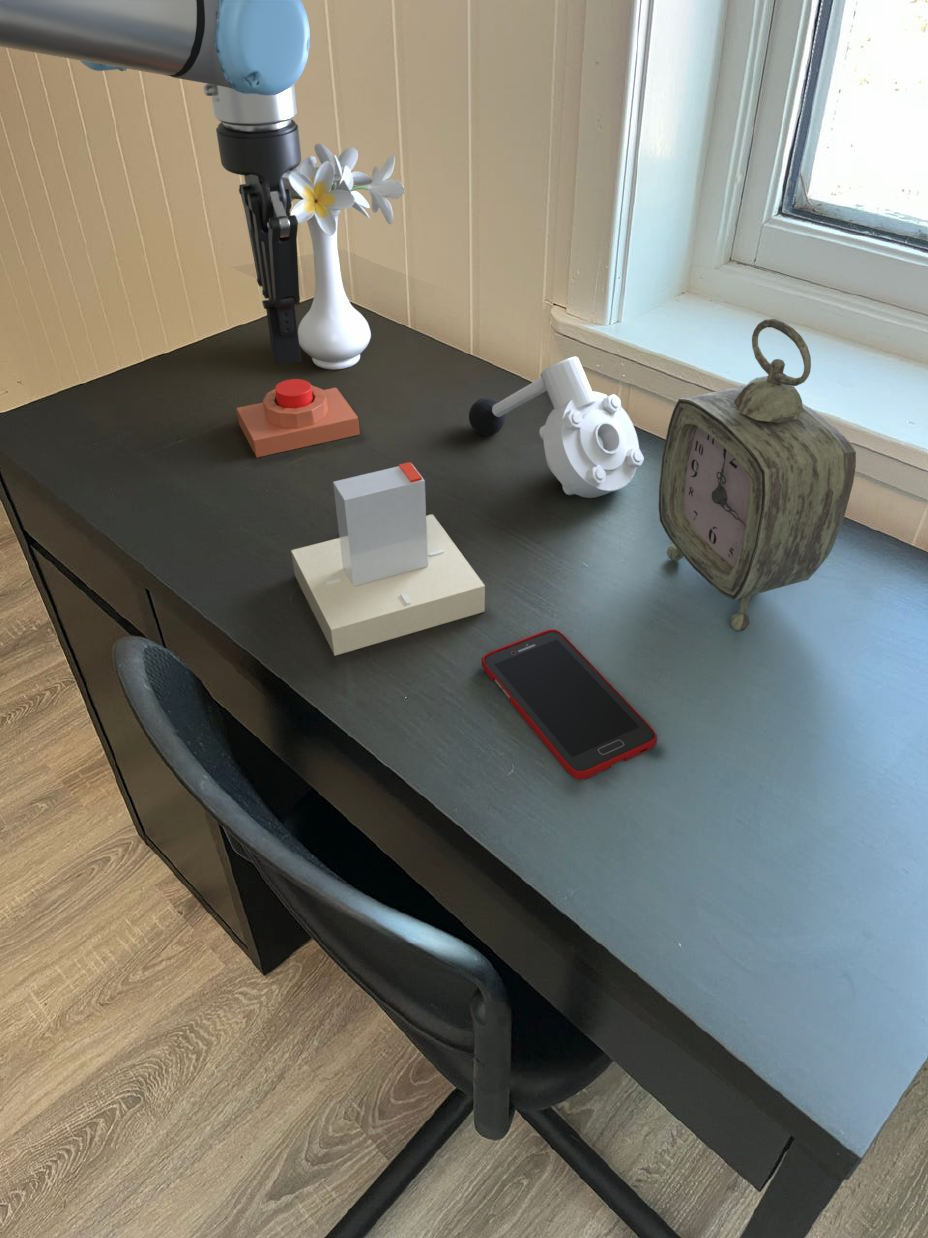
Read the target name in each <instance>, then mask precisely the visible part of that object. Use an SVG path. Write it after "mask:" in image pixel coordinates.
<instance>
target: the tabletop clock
mask: <svg viewBox="0 0 928 1238" xmlns="http://www.w3.org/2000/svg"><path fill="white" fill-rule="evenodd" d="M766 328H772V329H774V330H777V331H779V332H780V333H782V334H783V335H785V336H787V337H788V338H789V339H790V340H791V341H792V342H793V343H794V345H795V346H796V347H797V349H798V350H799V353H800V355H801V358H802V361H803V373H802V375H801V376H799V377H793V376H789V375H787V374H786V373H784V370H785V367H786V363H785V361H784V360H783V359H781V358H775V359H773V360H772V361H771V362H769V360H768V359H767V358H766V357H765V355H764V354H763V352H762V350H761V348H760V346H759V336H760V333H761V332H762V331H763V330H765V329H766ZM751 344H752V345H751V348H752V351H753V354H754V358H755V360H756V361H757V364H758V365H759V366H760V367H761V368H762V370H763V371H764V372H765V373H766V375H764V376H759V377H755V378H753V379H752V380H750V381H749V382H748V383H747V384H746V385H740V386H736V387H731V388H726V389H720V390H717V391H716V390H715V391H711V392H705V393H702V394H696V395H692V396H687V397H681V398H679V399H678V400H677V403H676V405H675V406H674V408H673V410H672V413H671V417H670V420H669V424H668V428H667V431H666V437H665V441H664V447H663V451H662V457H661V468H660V476H659V487H658V513H659V514H658V516H659V522H660V524H661V526H662V528H663V530H664V532H665V534H666V535H667V537H668V538H669V540H670V541H671V542H672V544H671V545H670V546H669V547H667V550H666V555H667V557H668V558H669V559H670V560H671V561H675V562H677V561H680V560H681V559H683V558H684V559H685V560H686V561H687V563H689V565H690V566H691V567H692V568H693V569H694V570H695V571H696V572H697V573H698V574H699V575H700V576H701V577H702V578H703V579H704V580H705V581H706V582H708V584H709V585H710V586H712V587H713V588H714V589H715V590H716V591H717V592H718V593H720V594H721V595H723V596H724V597H726V598H729V599H731V600H733V601H736V600H739V599H740V601H739V608H738V612H735V613H733V615H732V616H731V617H730V619H729V624H730V626H731V628H732V629H733V630H734V631H737V632H743V631H745V630H746V629H747V628H748V627H749V625H750V622H751V620H750V617H749V616H748V615H747V613H746V612H747V609H748V606H749V604H750V601H751V598H752V596H755V595H758V594H762V593H765V592H770V591H772V590H776V589H780V588H783V587H784V588H785V587H786V586H790V585H795V584H798V583H802V582H806V581H808V580H809V579H810V578H812V576H813V575H814V574H815V573H816V572H817V570H818V569H819V568H820V567H821V566H822V565H823V563H824V562H825V561H826V560H827V559H828V557H829V555H830V554H831V552H832V550H833V548H834V546H835V543H836V540H837V537H838V535H839V532H840V530H841V527H842V524H843V521H844V519H845V516H846V513H847V509H848V505H849V500H850V497H851V492H852V489H853V485H854V481H855V475H856V468H857V452H856V450H855V448H854V447H853V445H852V444H851V442H850V440H849V439H848V438H847V437H846V436H845V435H844V434H843V433H842V432H841V431H840V430H838V429H837V428H836V426H833V424H832V423H830V422H829V421H828V420H826V419H825V418H824V417H822V415H820V414H819V413H818V412H817V411H815V410H813V409H812V408H811V407H809V406H808V405H806V404H804V403H803V399H802V396H801V394H800V393H799V391H798V390H797V388H796V387H798V386H800V385H801V384H804V383H805V382H806V381H807V379H808V378H809V376H810V373H811V369H812V360H811V359H812V357H811V354H810V350H809V348H808V344H807V343H806V341H805V340H804V338H803V336H802V335H801V334H800V333H799V332H798V331H796V329H795V328H794V327H792V326H790V325H789V324H787V323H786V322H784V321H782V320H780V319H776V318H769V319H768V318H767V319H764V320H762V321H760V322H758V324H757V325H756V327H755V328H754V330H753V333H752V334H751Z"/></svg>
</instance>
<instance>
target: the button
mask: <svg viewBox="0 0 928 1238" xmlns="http://www.w3.org/2000/svg"><path fill="white" fill-rule="evenodd" d="M311 385H312V383H310V381H307V380H305V379H301V378H300V379H299V378H291V379H286V380H283V381H281V382H279V383H277V384H276V385H275V388H274V389H275V392H276V398H277V404H278V405H279V406H280V407H283V408H300V407H305V406H307V405H309V404H311V403H312V401H313V396H312V388H311Z"/></svg>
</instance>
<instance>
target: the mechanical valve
mask: <svg viewBox="0 0 928 1238" xmlns="http://www.w3.org/2000/svg"><path fill="white" fill-rule="evenodd" d="M545 392H547V395H548V397H549V399H550V402H551V404H552V406H553V409H552V410H551V411H550V413H549V414H548V416H547V419H546V420H545V421H546V422H545V423H544V424H543V425H542V426H541V427H540V428H539V436H540V438H541V439H542V440H543V448H544V456H545V460H546V465H547V467H548V468H549V469H548V470H550V472H551V473H552V474H553V475H554V477H555V478H556V480H557V481H558V482H560V484H561V485H562V490H563V492H564V493H565V495H568V496H573V495H577V496H579V497H581V498H588V499H595V498H599V497H601V496H604V495H607V494H610V493H612V492H615V491H618V490H621V489H623V488H624V487H626V486H627V485H629V483H630V482H631V481H632V480H633V478H634V476H635V474H636V472H637V469H638V468H639V467H641V466H642V464H643V463H644V460H645V458H644V455H643V452H642V451H641V450H640V444H639V439H638V435H637V431H636V429H635V426H634V423H633V422H632V419H631V418H630V416H629V414H628V413H627V412H626V410H625V409H624V408H623V407H622V401H621V399H620V397H619V396H617V395H616V394H615V393H613V394H611V395H607V394H605V393H602V392H599V391H594V390H592V387H591V385H590V382H589V380H588V378H587V375H586V373H585V371H584V368H583V366H582V362H581V361H580V359H579V357H577V356H571V357H568V358H565V359H563V360H561V361H558V362H557V363H555V364H553V365H551V366H549V367H547V368H545V369H543V370H542V371H541V373H540V378H538V379H536V380H534V381H533V382H531V383H530V384H528V385H526V386H524V387H522V388H521V389H519V390H517V391H516V392H514V393H512V394H510V395H509V396H507V397H505V398H504V399H502V400H500V401H499V400H497V398H493V397H481V398H479V399H477V400H476V401H475V402H473V404H471V407H470V408H469V411H468V421H469V425H470V426H471V428H472V429H473V430H474V431H475V432H476V433H477V434H479V435H483V436H492V435H495V434H497V433H499V432H500V431H501V430H502V428H503V427H504V426H505V423H506V420H507V415H506V414H508V413H509V412H511V411H513V410H515V409H516V408H518V407H520V406H522V405H524V404H525V403H527V402H530V401H531V400H532V399H535V398H536V397H538V396H540V395H542V394H544V393H545Z"/></svg>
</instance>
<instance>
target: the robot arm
mask: <svg viewBox="0 0 928 1238" xmlns="http://www.w3.org/2000/svg"><path fill="white" fill-rule="evenodd" d="M310 29H311V28H310V21H309V17H308V14H307V12H306V8H305V7H304V3H303V1H302V0H0V47H1V48H7V49H12V50H18V51H23V52H30V53H35V54H41V55H46V56H52V57H58V58H63V59H69V60H75V61H79V62H81V63H82V64H83V65H84V66H85V67H87V68H88V69H90V70H93V71H97V72H103V71H104V72H105V71H115V70H118V71H120V72H125V71H127V69H128V70H133V71H139V72H143V73H144V72H145V73H150V74H155V75H160V76H161V75H162V76H165V77H171V78H174V79H180V80H185V81H190V82H196V83H201V84H204V85H203V94H205V96H208V97H211V101H212V108H213V115H214V118H215V119H216V120H217V121H218V122H220V123H218V125H217V127H216V129H215V131H216V137H217V144H218V152H219V159H220V163H221V165H222V167H223V169H224V170H226V171H227V172H229V173H231V174H235V175H238V176H243V178H244V183H242V184H241V183H240V184H239V186H238V192H239V194H240V197H241V202H242V205H243V209H244V215H245V220H246V225H247V230H248V237H249V242H250V248H251V252H252V257H253V263H254V267H255V273H256V282H257V284H258V286H259V287H260V288H262V290H261V292H262V293H261V294H262V296H263V297H264V300H262V307H263V309H264V310H265V311H266V316H267V317H266V319H267V324H268V326H267V327H268V332H269V339H270V347H271V354H272V360H273V361H274V364H275V365H276V366H280V365H286V364H291V363H292V364H293V363H296V362H302V356H301V347H300V345H299V339H298V323H297V313H296V306H297V305H300V304H301V296H300V284H299V282H300V281H299V280H300V279H299V260H298V259H299V258H298V242H297V239H298V229H299V226H298V225H299V223H298V220H297V218H296V216H295V215H291V216H290V213H291V210H292V207H293V206H292V204H293V203H291V196H290V191H289V189H285V187H284V182H283V180H282V178H283V177H282V176H283V175H284V173H286V172H287V171H289V170H290V171H291V170H293V169H295V168H296V167H298V168H299V166H300V164H301V163H302V150H301V143H300V141H301V140H300V133H299V125H298V124H297V123H296V121H295V120H293V119H294V118H295V116H296V115H297V113H298V107H297V106H298V105H297V96H296V88H295V84H296V83H297V82H298V81H299V79H300V77H301V76H302V74H303V72H304V70H305V67H306V65H307V62H308V59H309V58H308V57H309V50H310V48H311V44H310V41H311V40H310V39H311V31H310Z"/></svg>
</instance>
